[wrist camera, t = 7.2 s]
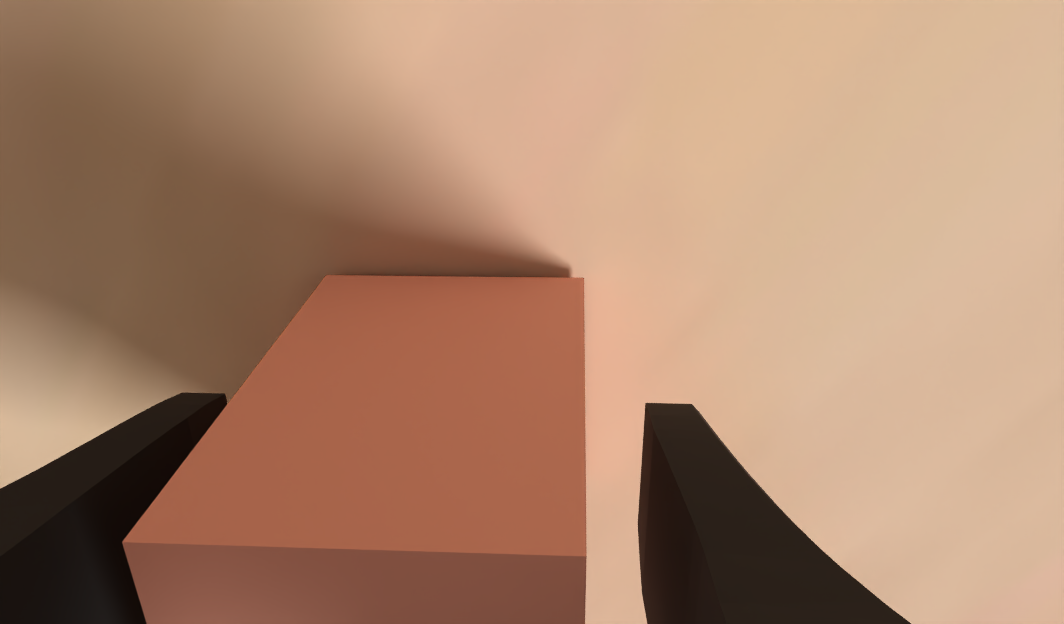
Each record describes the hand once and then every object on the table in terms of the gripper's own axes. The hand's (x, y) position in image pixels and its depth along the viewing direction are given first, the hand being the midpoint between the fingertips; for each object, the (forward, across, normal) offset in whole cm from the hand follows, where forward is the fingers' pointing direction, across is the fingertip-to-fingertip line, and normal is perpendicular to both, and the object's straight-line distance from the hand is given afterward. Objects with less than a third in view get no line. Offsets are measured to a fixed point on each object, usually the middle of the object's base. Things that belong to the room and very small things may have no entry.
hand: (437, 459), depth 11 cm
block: (+2, 0, 0) cm, 2 cm away
